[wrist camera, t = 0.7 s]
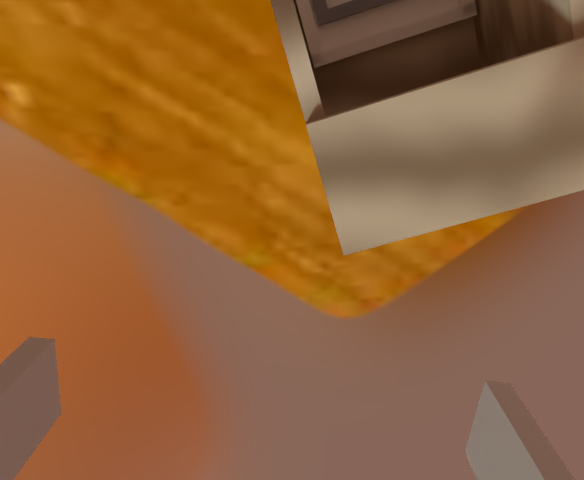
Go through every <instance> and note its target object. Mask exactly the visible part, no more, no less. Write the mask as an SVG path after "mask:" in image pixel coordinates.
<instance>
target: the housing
mask: <svg viewBox="0 0 584 480" xmlns="http://www.w3.org/2000/svg"><path fill="white" fill-rule="evenodd" d="M271 4H272V7H273V11H274V14H275V18H276V21H277V25H278V28H279V32H280V35H281V38H282V42H283V45H284V49H285V52H286V56H287V59H288V63H289V66H290V70H291V73H292V77H293V80H294V83H295V87H296V90H297V94H298V97H299V101H300V104H301V108H302V111H303V115H304V118H305V122H306V127H307V130H308V134H309V137H310V140H311V144H312V147H313V151H314V154H315V158H316V161H317V165H318V168H319V172H320V175H321V179H322V182H323V185H324V189H325V192H326V196H327V199H328V203H329V206H330V210H331V213H332V217H333V220H334V224H335V227H336V230H337V234H338V237H339V241H340V244H341V248H342V251H343V255H347V254H351V253H355V252H358V251H362V250H366V249H369V248H373V247H377V246H380V245H384V244H388V243H391V242H395V241H399V240H402V239H406V238H410V237H413V236H417V235H421V234H424V233H428V232H431V231H435V230H439V229H442V228H446V227H450V226H453V225H457V224H461V223H464V222H468V221H472V220H475V219H479V218H483V217H486V216H490V215H494V214H497V213H501V212H505V211H508V210H512V209H516V208H519V207H523V206H527V205H530V204H534V203H537V202H541V201H545V200H548V199H552V198H555V197H559V196H563V195H567V194H570V193H574V192H578V191H581V190H584V0H475V4H476V10H477V15H475V16H472V17H470V18H467V19H464V20H461V21H458V22H455V23H452V24H448V25H445V26H442V27H439V28H436V29H433V30H430V31H427V32H424V33H421V34H418V35H415V36H412V37H409V38H406V39H403V40H399V41H396V42H393V43H390V44H387V45H384V46H381V47H378V48H375V49H372V50H369V51H366V52H363V53H360V54H357V55H353V56H350V57H347V58H344V59H341V60H338V61H335V62H332V63H329V64H326V65H323V66H320V67H317V68H314V67H313V63H312V59H311V56H310V52H309V48H308V45H307V41H306V37H305V34H304V30H303V26H302V23H301V19H300V15H299V12H298V8H297V4H296V3H294V1H293V0H271Z"/></svg>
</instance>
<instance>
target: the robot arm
mask: <svg viewBox="0 0 584 480" xmlns="http://www.w3.org/2000/svg"><path fill="white" fill-rule="evenodd" d="M60 407H61V406H60V394H59V383H58V372H57V360H56V349H55V339H46V338H35V337H29V338H28V339H27V340H25V341H24V342H23V343H22V344H21V345H20V346H19V347H18V348H17V349H16V350H15V351H14V352H13V353H12V354H11V355H10V356H8V357H7V358H6V359H5V360H4V361H3V362H2V363H1V364H0V480H13V479H14V478H15V477H16V475H17V474H18V472H19V471H20V470H21V468H22V467H23V466H24V464H25V463H26V461H27V460H28V459H29V457H30V456H31V454H32V453H33V452H34V450H35V449H36V448H37V446H38V445H39V443H40V442H41V441H42V439H43V438H44V436H45V435H46V434H47V432H48V431H49V430H50V428H51V427H52V425H53V424H54V423H55V421H56V420H57V418H58V417H59V416H60V414H61V408H60ZM465 452H466V455H467V457H468V460H469V462H470V464H471V466H472V469H473V471H474V473H475V475H476V478H477V480H575V478H574V477H573V475H572V474H571V472H570V471H569V469H568V468H567V467H566V465H565V464H564V462H563V461H562V459H561V458H560V456H559V455H558V453H557V452H556V450H555V449H554V447H553V446H552V444H551V443H550V441H549V440H548V438H547V437H546V436H545V434H544V433H543V431H542V430H541V428H540V427H539V425H538V424H537V422H536V421H535V419H534V418H533V416H532V415H531V413H530V412H529V410H528V409H527V407H526V406H525V405H524V403H523V402H522V400H521V399H520V397H519V396H518V394H517V393H516V391H515V390H514V388H513V387H512V385H511V384H510V383H502V382H492V381H485V383H484V387H483V390H482V394H481V397H480V401H479V405H478V408H477V412H476V415H475V419H474V423H473V426H472V429H471V433H470V437H469V440H468V443H467V447H466V451H465Z"/></svg>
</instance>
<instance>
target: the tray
mask: <svg viewBox="0 0 584 480" xmlns="http://www.w3.org/2000/svg"><path fill="white" fill-rule="evenodd" d="M295 1H296V4H297V8H298V12H299V15H300V19H301V23H302V26H303V30H304V34H305V37H306V41H307V45H308V48H309V52H310V56H311V59H312V63H313V67H314V68H317V67H320V66H323V65H326V64H329V63H332V62H335V61H338V60H341V59H344V58H347V57H350V56H353V55H357V54H360V53H363V52H366V51H369V50H372V49H375V48H378V47H381V46H384V45H387V44H390V43H393V42H396V41H399V40H403V39H406V38H409V37H412V36H415V35H418V34H421V33H424V32H427V31H430V30H433V29H436V28H439V27H442V26H445V25H448V24H452V23H455V22H458V21H461V20H464V19H467V18H470V17H472V16H475V15H477V10H476V4H475V0H295Z"/></svg>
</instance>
